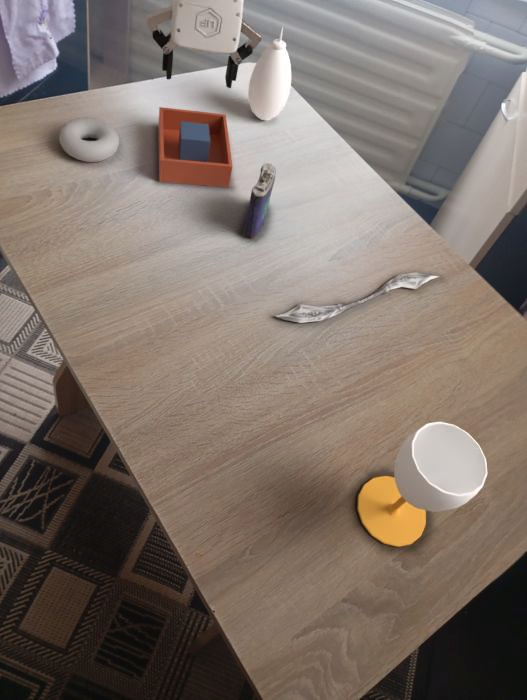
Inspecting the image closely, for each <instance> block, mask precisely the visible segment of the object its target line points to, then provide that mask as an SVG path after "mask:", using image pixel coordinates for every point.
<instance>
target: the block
mask: <svg viewBox="0 0 527 700" xmlns="http://www.w3.org/2000/svg"><path fill="white" fill-rule="evenodd" d="M209 146H210V135H209V125H208V124H202V123H192V122H183V121H180V132H179V143H178V148H179V160H188V161H199V162H207V161H208V154H209Z"/></svg>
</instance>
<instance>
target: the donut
mask: <svg viewBox="0 0 527 700" xmlns="http://www.w3.org/2000/svg"><path fill="white" fill-rule="evenodd" d="M85 139H94V140H85ZM58 140H59V141H58V142H59V144H60V146H61V149H62V150H63V151H64V152H65V153H66V154H67V155H68V156H70V157H71V158H74V159H76V160H77V161H78V160H79V161H82V162H87V163H96V162H103V161H105V160H108V159H110V158H111V157H113V156H114V155H115V154H116V153H117V152H118V151H117V150H118V149H119V147H120V137H119V135H118V133H117V132H116V130H115V128H114V127H113V126H112V125H111V124H110V123H108V122H106V121H103V120H101V119H98V118H94V117H86V116H85V117H77V118H74V119H71V120H70V121H68V122H67V123H65V124H64V125H63V126H62V127H61V129H60V131H59V139H58Z"/></svg>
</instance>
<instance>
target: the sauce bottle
mask: <svg viewBox="0 0 527 700" xmlns="http://www.w3.org/2000/svg"><path fill="white" fill-rule="evenodd" d="M283 33H284V27H283V26H282V27H281V29H280V32H279V36H278V38H275V39H273V40H272V41H271V45H269V46H268V47H266V49H264V50H263V52H262V54H261V55H260V56H259V58H258V59H257V61H256V63H255V65H254V67H253V70H252V72H251V75H250V78H249V84H248V90H247V91H248V92H247V96H248V104H249V107H250V109H251V112H252V114H254V115H255V117H257V118H258V119H259V120H262V121H270V120H272V119H274V118H276V117H278V115H279V114H280V113H281V112H282V111H283V109H284V107H285V106H286V105H287V102H288V99H289V97H290V93H291V86H292V65H291V60H290V59H291V58H290V55H289V52H288V50H287V48H286V47H287V43H286V41H284V40H283Z"/></svg>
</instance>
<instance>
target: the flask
mask: <svg viewBox="0 0 527 700" xmlns="http://www.w3.org/2000/svg"><path fill="white" fill-rule="evenodd" d="M276 172H277V169H276V166H275V165H273V164H272V163H263V164H262V166H261V168H260V174H259V178H258V180H257V182H256V184H254V186H253V187H252V188H251V192H250V198H249V203H248V207H247V212H246V218H245V223H244V226H243V232H242V234H243V237H244V238H246V239H249V240H254V239H256V238H257V237H258V236H259V234H260V233H261V232H262V230H263V228H264V225H265V219H266V217H267V212H268V208H269V205H270V200H271V195H272V192H273V189H274V184H275V181H276V175H277V173H276Z"/></svg>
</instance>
